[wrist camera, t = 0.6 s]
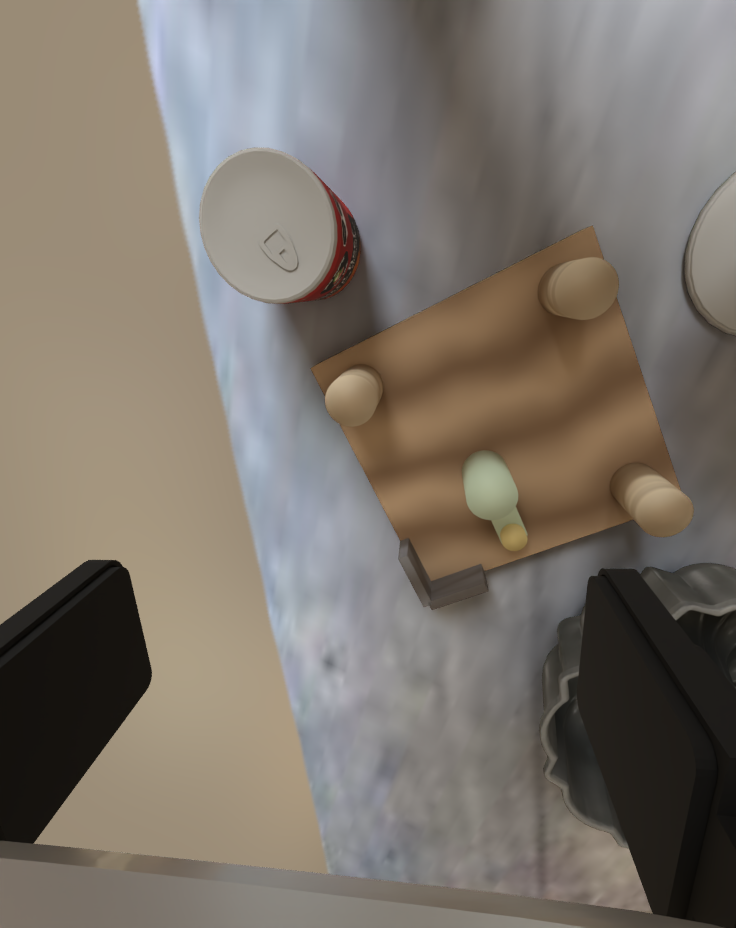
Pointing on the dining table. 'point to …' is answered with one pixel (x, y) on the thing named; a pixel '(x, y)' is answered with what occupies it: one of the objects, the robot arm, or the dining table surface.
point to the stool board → (507, 418)
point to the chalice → (714, 259)
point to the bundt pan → (561, 727)
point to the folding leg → (494, 496)
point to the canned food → (277, 229)
